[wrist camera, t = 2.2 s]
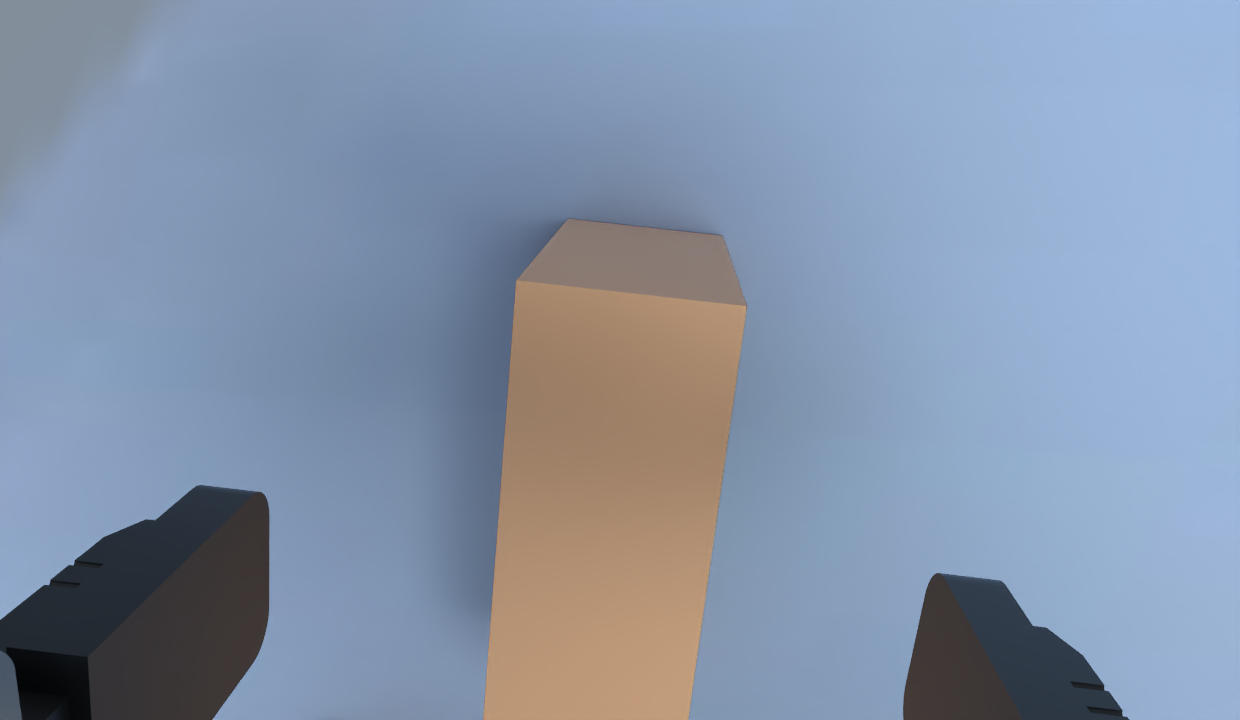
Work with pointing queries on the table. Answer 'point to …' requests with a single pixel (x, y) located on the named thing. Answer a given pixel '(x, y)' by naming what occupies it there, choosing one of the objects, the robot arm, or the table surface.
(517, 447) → the wooden staple shape
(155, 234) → the table surface
